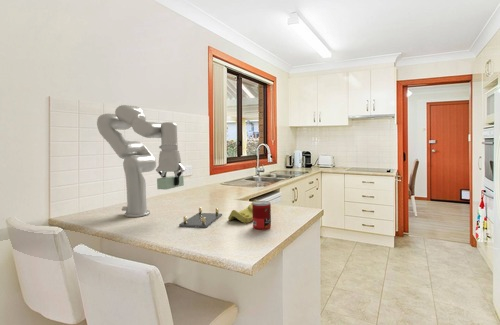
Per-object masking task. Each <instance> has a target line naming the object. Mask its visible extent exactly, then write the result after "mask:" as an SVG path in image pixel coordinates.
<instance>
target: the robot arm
mask: <svg viewBox="0 0 500 325" xmlns="http://www.w3.org/2000/svg"><path fill="white" fill-rule="evenodd" d="M146 118H147V117H146V115H145V114H144V111H143V110H142V108H140V107H138V106H136V105H126V104H121V105H118V106H117V107H116V108H115V111H114V113H103V114H101V115H99V116H97V119H96V120H97V121H96V126H97V130H98V132H99V134H100V135H101V137H102V138H103V139H104V140H105V141H106V142H107V143H108V144H109V146H110V147H111V149H112V150H113V151H114V152H115V154H116V155H117V156H118V158H120V159H123V162H122V166H123V171H124V175H125V183H126V184H125V185H126V206H122V208H121V211H123V212H125V213H124V217H127V218H138V217H139V218H140V217H144V216H148V215H150V213H151V211H150V210H149V209H147V208H148V206H147V189H146V188H147V187H146V184H147V183H146V178H145V176H144V175H143V173H147V172H152V171H154V170H155V171H156V172H157V173H158V174H159V175H160V178H163V177H167V173H172V172H173V174H174V175H175V178H174V182H175V186H177V185H179V177H180V175H181V176H182V174H183V173H184V172H185V171H186V169H185V167H184V166H183V165H182V161H181V153H180V151H179V150H178V125H177V123H176V122H173V121H168V122H167V121H164V122H151V121H146V120H147V119H146ZM131 128H132V130H133V131H134V133H136V134H138V135H139V136H142V137H144V138H146V139H161V141H160V142H161V144H160V145H159V146H158V147H159V149H161V150H160V151H159V156H158V166H157V161H156V159H155V156H154V155H153V153H151V151H150V150H149V149H148V148H147V146H146V145H145V144H144V143H142V142H140V141H136V140H135V141H132V140H131V141H130V140H128V139H127V138H126V136H124V134H123V133H121V132H120V131H121V130H123V131H125V130H128V129H131ZM118 130H120V131H118Z"/></svg>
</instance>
